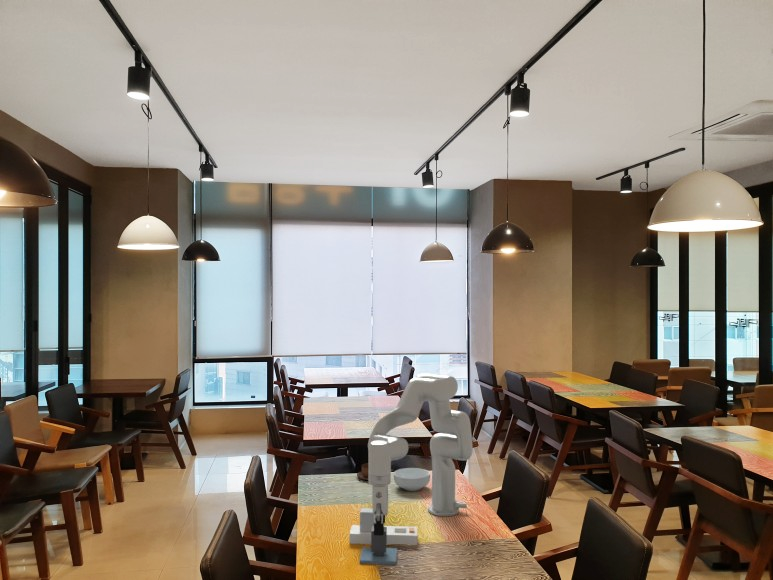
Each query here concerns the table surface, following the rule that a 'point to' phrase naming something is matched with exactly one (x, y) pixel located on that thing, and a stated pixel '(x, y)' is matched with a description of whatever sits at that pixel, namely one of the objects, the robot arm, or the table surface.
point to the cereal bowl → (412, 478)
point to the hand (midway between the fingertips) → (379, 528)
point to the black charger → (379, 543)
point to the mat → (369, 557)
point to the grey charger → (366, 519)
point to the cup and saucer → (364, 472)
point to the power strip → (393, 535)
